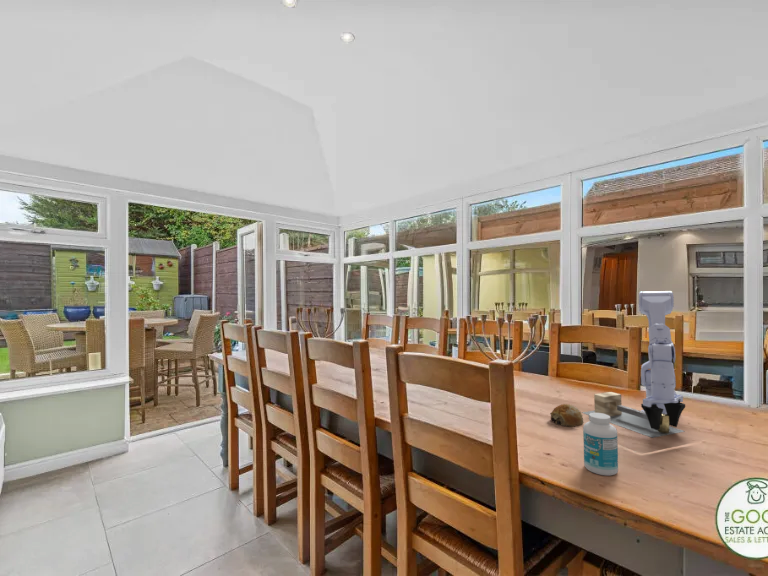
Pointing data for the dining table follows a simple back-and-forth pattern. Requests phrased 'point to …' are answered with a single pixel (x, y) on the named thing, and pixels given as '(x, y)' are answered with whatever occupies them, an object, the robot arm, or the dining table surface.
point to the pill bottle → (600, 445)
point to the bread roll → (567, 415)
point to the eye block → (607, 403)
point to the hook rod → (663, 420)
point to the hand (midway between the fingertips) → (663, 427)
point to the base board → (637, 424)
